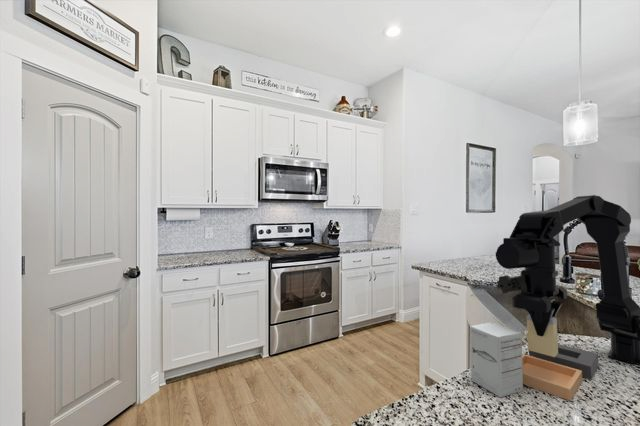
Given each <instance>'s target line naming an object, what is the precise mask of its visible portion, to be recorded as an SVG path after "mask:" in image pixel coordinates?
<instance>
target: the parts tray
mask: <svg viewBox="0 0 640 426" xmlns="http://www.w3.org/2000/svg"><path fill="white" fill-rule="evenodd" d="M522 371H523V386H524V385H525V386H527V387H530V388H533V389H536V390H538V391H541V392H543V393H547V394H549V395H552V396H555V397H558V398H561V399H564V400H567V401H570V402H571V401H572V400H573V398H574V396H575V394H576V393H577V391H578V389H579V388H580V386H581V384H582V383H583V377H582V371H581V370H578V369H574V368H571V367H567V366H564V365H560V364H557V363H553V362H550V361H546V360H543V359H539V358H536V357H532V356H529V354H525V353H522Z"/></svg>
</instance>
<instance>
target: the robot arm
mask: <svg viewBox="0 0 640 426" xmlns="http://www.w3.org/2000/svg"><path fill="white" fill-rule="evenodd" d="M575 220H578V221H579V222H581V223H582V224H583V225H584V227H585V230H586V233H587V234H588V235H589V237H590V238H591V239H592V240H593V241H594V242H595V243H596V247H597V255H598V263H599V269H600V278H601V283H602V284H601V285H602V292H603V297H602V298H601V300H600V301H599V302H597V303H596V304H595V306H594V307H595V310H596V318H597V321H598V322H597V323H598V325H599V329H600V331H602V332H608V333H609V334H610V335H609V336H610V349H609V351H608V353H607V358H610V359H615V360H618V361H622V362H626V363H629V364H635V365H638V366H640V305H638V303H636V302H635V300H634V299H633V298H632V297H631V294H630V287H629V281H628V274H627V266H626V257H625V251H624V244H623V241H624V240H625V238H626V237H627V236H628V235H629V233H630V231H631V223H632V217H631V214H630V213H629V212H628V211H627V210H626V209H624V208H623V207H622V205H620V204H616V203H614V202H611V201H608V200H605V199H604V198H602V197H601V196H600V195H596V194H593V195H591V194H590V195H580V196H576V197H574V198H572V199H570V200H568V201H566V202H564V203H561V204H559V205H556V206H554V207H551V208H549V209H545V210H538V211H530V212H524V213H522V214H520V216H519V217H518V220H517V222H516V224H515V226H514V228H513V230H512V232H511V233H510V236H509V237H503V239H502V240H503V243H502V244H499V246H498V247H497V249H496V251H495V259H496V261H497V263H498V264H499V265H500V266H501V267H502V268H504V269H508V270H510V269H521V268H524V269H523V270H521V272H520V275H516V276H511V277H510V276H509V275H508V274H506V275H502V276H499V277H498V280H496V283H497V285H496V288H498V289H500V291H501V293H502V294H508V293H509V292H515V291H520V293H517V294H516V295H514V296H513V297H512V307H513V308H515V309H522V310H525V311H526V312H527V313H528V314H530V316H531V319H532V322H533V325H534V327H535V330H536V333H537V335H538V336H544V334H545V331H546V329H547V327H548V324H549V322H550V319H551V317H555V318H556V316H557V315H558V313H559V310H560V308H561V307H562V305H563V302H562V301H563V300H567V299H568V290H567V289H566V288H565V287H564V286H563V285H557V277H558V276H559V271H558V270H556V249H555V248H556V247H560V246H561V242H559V241H558V240H557V239H555V238H554V237H556V236H558V235H559V234H561V232H562V231H563V230H564V228H565V227H564V226H565V225H566V224H569V223H570V222H573V221H575ZM555 297H556V298H557V297H558V298H560V299H561V300H562V301H559V300H558V301H557V300H556V299H555Z"/></svg>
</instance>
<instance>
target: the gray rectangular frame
mask: <svg viewBox="0 0 640 426" xmlns="http://www.w3.org/2000/svg"><path fill="white" fill-rule="evenodd" d="M528 355H529V356H532V357H536V358H539V359H543V360H546V361H550V362H553V363H557V364H560V365H564V366H567V367H571V368H574V369H578V370H581V371H582V378H585V379H588V380H591V381H592V379H593V378H594V376H595V374H596V372H597V371H598V369H599V366H600V365H599V362H600V361H599V353H596V352H592V351H588V350H585V349H584V350H583V349H579V348H575V347H571V346H568V345H563V344H560V343H558V354H557V355H556V356H555V357H552V356H548V355H545V354H541V353H537V352H534V351H530V350H528Z"/></svg>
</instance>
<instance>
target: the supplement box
mask: <svg viewBox="0 0 640 426" xmlns="http://www.w3.org/2000/svg"><path fill="white" fill-rule="evenodd" d="M469 327H470V328H469V329H470V368H471V369H470V372H471V373H470V374H471V375H470V378H471V379H470V381H472V382H474V383H475V384H477V385H479V386H480V387H483V388H484V389H486V391H488V392H491V393H492V394H494V395H496V396H497V397H498V398H504V397H507V396H511V395H513V394H517V393H520V392H523V390H524V388H523V386H524V384H523V371H522V354H523V343H522V341H523V338H522V337H523V333H522V332H521V331H519V330H518V331H517V330H515V329H511V328H509V327H506V326H504V325H500V324H498V323H495V322H493V321H492V322H491V321H490V322H484V323H478V324H474V325H470V326H469Z"/></svg>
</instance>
